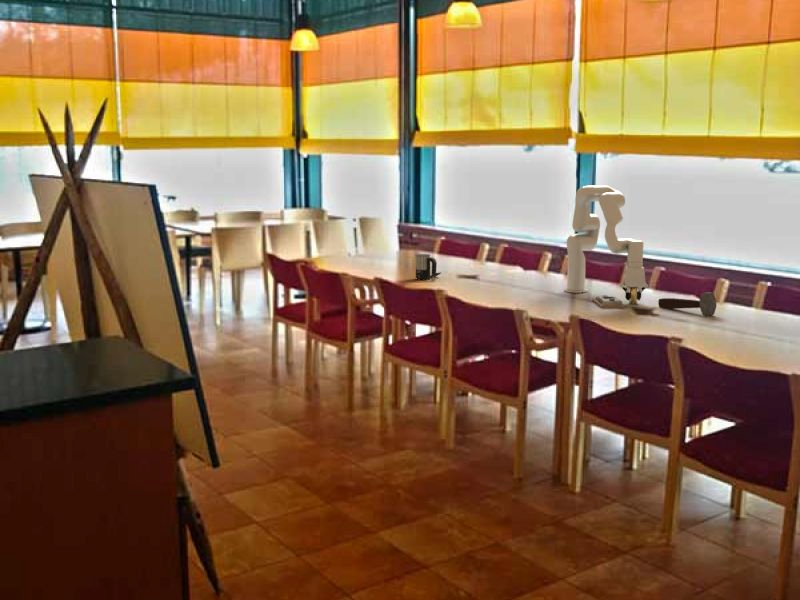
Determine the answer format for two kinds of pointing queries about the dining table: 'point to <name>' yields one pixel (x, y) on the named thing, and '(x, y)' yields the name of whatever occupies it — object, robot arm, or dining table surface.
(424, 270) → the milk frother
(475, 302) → the dining table surface
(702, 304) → the hammer
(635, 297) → the pin
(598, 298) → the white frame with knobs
